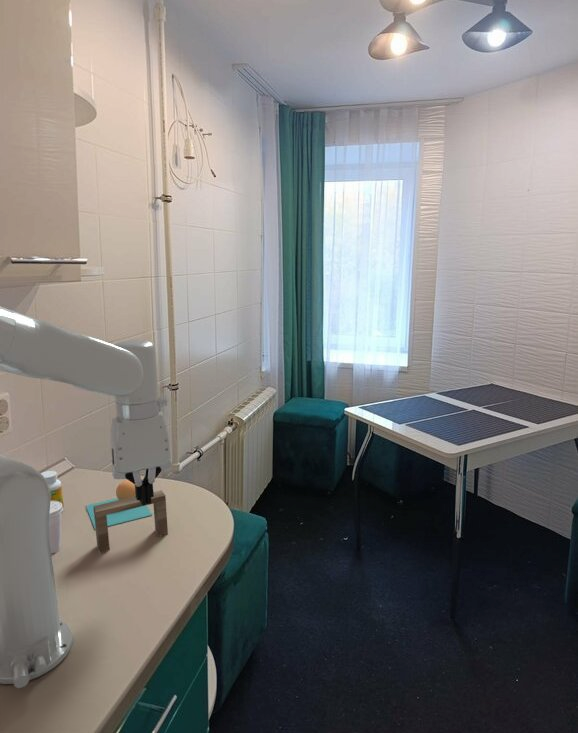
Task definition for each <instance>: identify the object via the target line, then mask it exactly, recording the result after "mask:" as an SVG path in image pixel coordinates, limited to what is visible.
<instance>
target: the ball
mask: <svg viewBox="0 0 578 733" xmlns="http://www.w3.org/2000/svg"><path fill="white" fill-rule="evenodd" d="M115 495H116V498H118V499H119V500H122V499H126V498H130V497H135V496H136V494H135V484H133V483H132V482H130V481H129V480H127V479H125V480H124V481H122V482H120V483H119V484H118V485H117V487H116V489H115Z"/></svg>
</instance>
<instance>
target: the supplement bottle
mask: <svg viewBox="0 0 578 733" xmlns="http://www.w3.org/2000/svg"><path fill="white" fill-rule="evenodd" d="M40 473H41V474H42V475H43V476H44V478H45V479H46V481H47V483H48V485H49V488H50V494H51V501H58V502H61V503H62V507H63V510H62V512H63V511H64V510H65V504H64V498H63V497H64V496H63V488H62V487H63V486H62V482H61V480H59V479H58V473H57V472H56V471H55V470H47V471H43V472H40Z"/></svg>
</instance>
